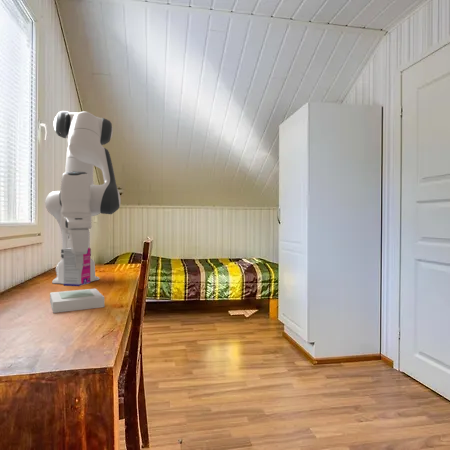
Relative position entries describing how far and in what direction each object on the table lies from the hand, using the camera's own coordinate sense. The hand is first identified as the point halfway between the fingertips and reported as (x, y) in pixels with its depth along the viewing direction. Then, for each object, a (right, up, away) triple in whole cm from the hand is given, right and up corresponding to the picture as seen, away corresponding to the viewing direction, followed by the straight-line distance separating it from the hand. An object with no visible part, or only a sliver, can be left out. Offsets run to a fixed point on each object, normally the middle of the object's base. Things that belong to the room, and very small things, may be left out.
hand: (76, 267), depth 110 cm
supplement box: (0, -6, 0) cm, 6 cm away
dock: (0, -12, 0) cm, 12 cm away
